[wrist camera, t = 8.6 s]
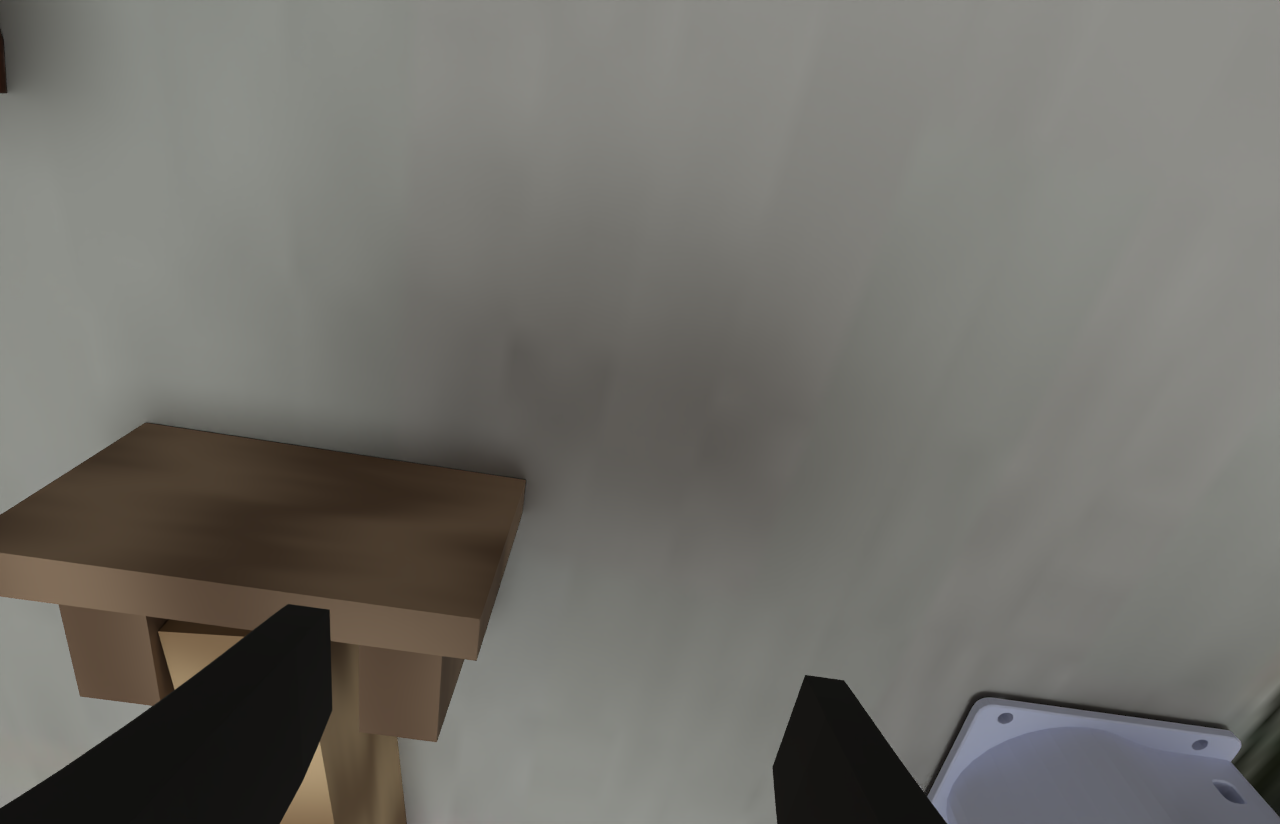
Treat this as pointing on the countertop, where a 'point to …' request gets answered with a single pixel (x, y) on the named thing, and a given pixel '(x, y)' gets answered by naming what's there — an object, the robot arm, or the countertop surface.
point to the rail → (345, 758)
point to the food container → (2, 67)
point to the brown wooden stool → (266, 560)
